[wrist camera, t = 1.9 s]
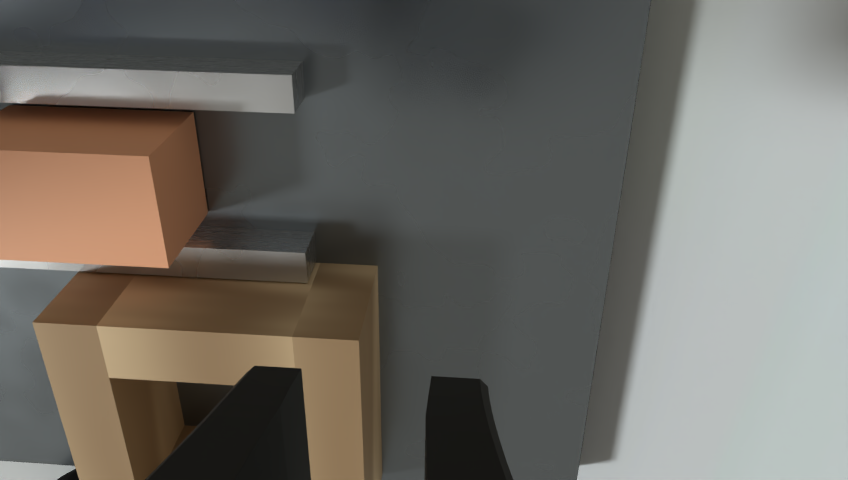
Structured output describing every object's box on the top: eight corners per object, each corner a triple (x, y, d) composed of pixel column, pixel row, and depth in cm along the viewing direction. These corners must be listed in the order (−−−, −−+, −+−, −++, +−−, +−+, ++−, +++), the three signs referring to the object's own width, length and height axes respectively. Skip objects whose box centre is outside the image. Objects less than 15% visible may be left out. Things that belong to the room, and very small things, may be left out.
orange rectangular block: (36, 205, 18) (-27, 258, 16) (9, 104, 17) (-62, 147, 15) (208, 212, 18) (168, 268, 16) (193, 112, 17) (148, 156, 14)
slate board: (-132, 422, 24) (-203, 490, 21) (-420, -197, 16) (-588, -199, 13) (569, 467, 23) (579, 546, 20) (665, -183, 14) (701, -183, 12)
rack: (144, 458, 22) (98, 543, 19) (96, 251, 19) (31, 322, 16) (382, 473, 22) (367, 563, 19) (378, 265, 18) (358, 340, 16)
